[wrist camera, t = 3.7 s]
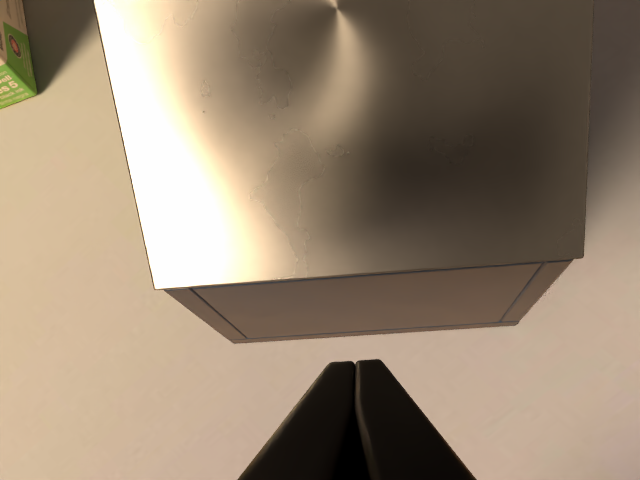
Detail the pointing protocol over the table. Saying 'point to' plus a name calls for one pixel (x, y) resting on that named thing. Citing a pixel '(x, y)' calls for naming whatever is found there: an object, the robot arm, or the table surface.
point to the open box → (372, 302)
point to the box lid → (350, 133)
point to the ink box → (14, 55)
